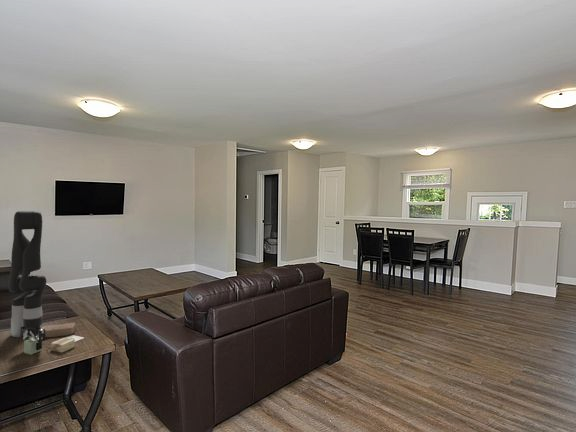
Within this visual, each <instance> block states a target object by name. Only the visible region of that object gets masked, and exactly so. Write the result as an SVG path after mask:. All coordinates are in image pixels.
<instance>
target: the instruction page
mask: <svg viewBox="0 0 576 432" xmlns="http://www.w3.org/2000/svg"><path fill="white" fill-rule="evenodd" d="M65 338H69V339H74V340H75V343H76V342H78V341H82V340H84V339H85V337H83V336H78V335H74V334H70V335H68V336H66V337H65Z"/></svg>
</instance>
